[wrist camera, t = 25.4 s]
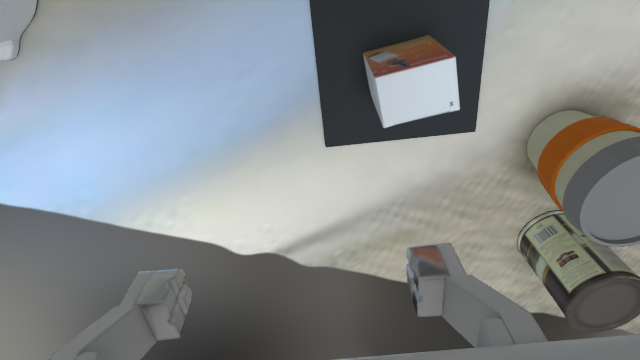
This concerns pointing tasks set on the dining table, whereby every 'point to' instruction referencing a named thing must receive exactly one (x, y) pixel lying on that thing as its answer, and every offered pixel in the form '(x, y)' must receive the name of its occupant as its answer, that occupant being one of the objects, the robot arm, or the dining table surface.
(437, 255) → the robot arm
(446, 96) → the small box
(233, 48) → the dining table surface
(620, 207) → the reusable coffee cup
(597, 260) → the coffee can
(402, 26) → the mat
